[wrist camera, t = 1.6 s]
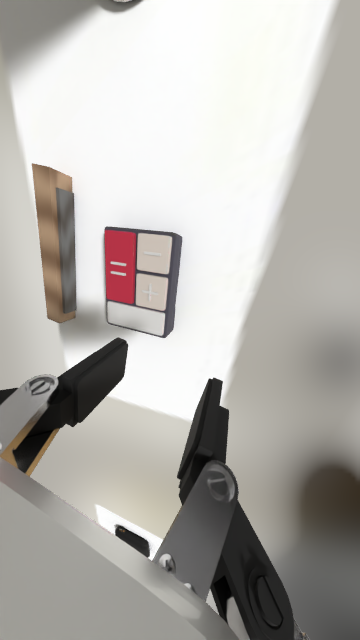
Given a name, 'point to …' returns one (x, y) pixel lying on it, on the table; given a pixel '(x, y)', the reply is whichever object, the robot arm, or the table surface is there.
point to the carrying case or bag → (133, 540)
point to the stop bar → (56, 240)
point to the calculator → (142, 279)
